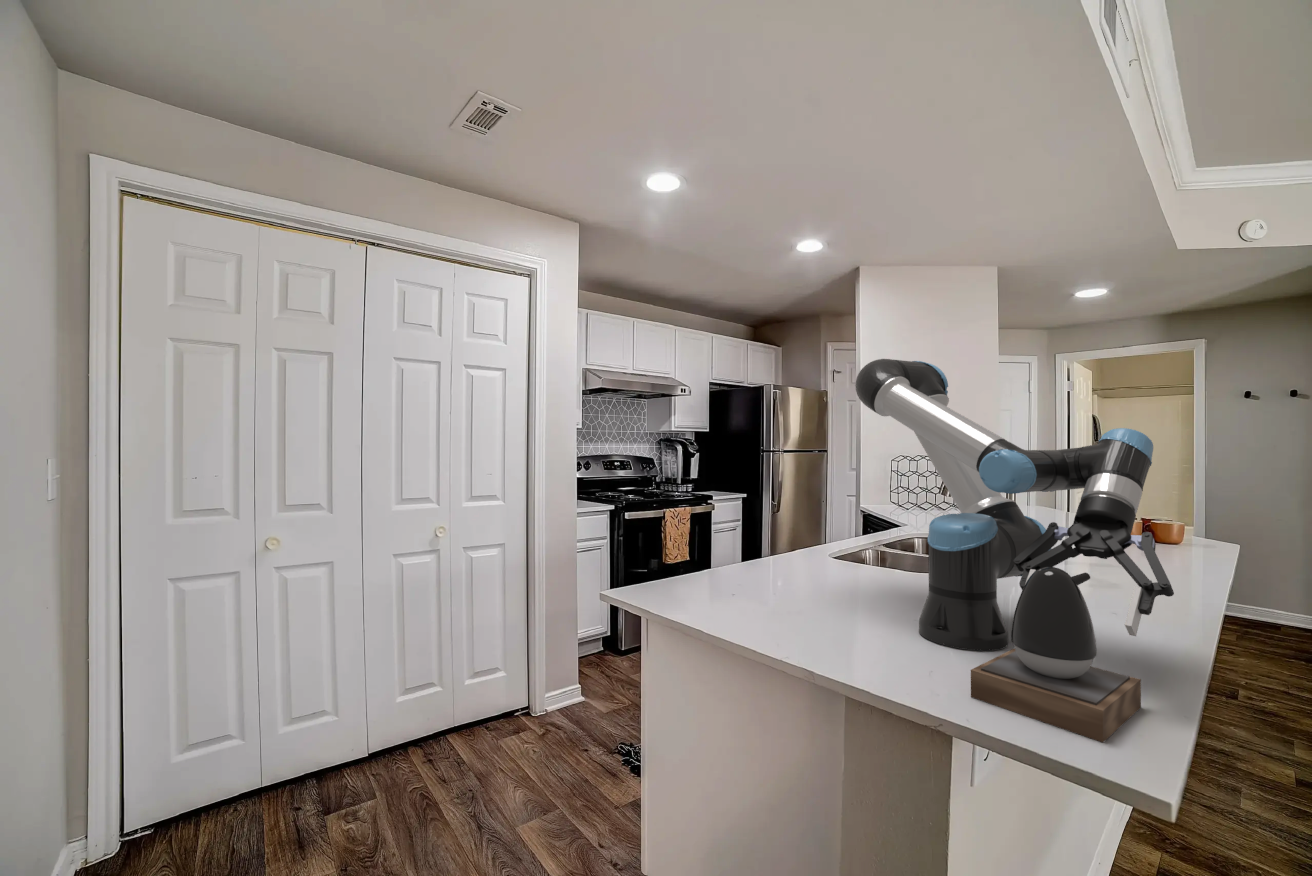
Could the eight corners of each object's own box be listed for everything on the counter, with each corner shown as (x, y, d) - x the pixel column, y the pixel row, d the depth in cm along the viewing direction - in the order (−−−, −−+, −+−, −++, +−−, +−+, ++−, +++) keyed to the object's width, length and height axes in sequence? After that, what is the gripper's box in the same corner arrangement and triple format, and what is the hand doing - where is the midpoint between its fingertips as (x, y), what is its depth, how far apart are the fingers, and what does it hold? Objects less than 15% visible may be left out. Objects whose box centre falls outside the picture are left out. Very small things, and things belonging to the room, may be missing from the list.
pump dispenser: (1117, 687, 78) (1116, 575, 78) (1040, 686, 78) (1039, 575, 78) (1064, 658, 88) (1064, 559, 88) (996, 658, 89) (996, 559, 89)
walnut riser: (1103, 742, 72) (1102, 708, 72) (970, 697, 85) (970, 667, 85) (1141, 707, 81) (1140, 677, 81) (1016, 671, 94) (1016, 645, 94)
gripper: (1215, 531, 86) (1189, 656, 78) (1030, 514, 107) (994, 611, 98) (1205, 500, 83) (1177, 627, 75) (1017, 488, 103) (978, 587, 95)
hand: (1073, 618), depth 86 cm, fingers open, 13 cm apart
